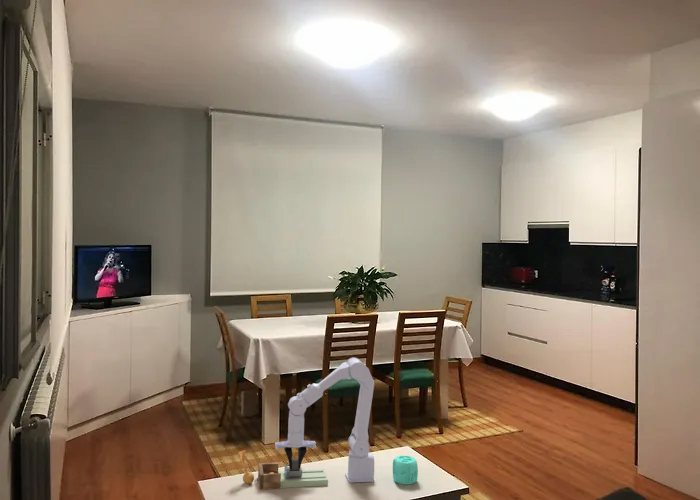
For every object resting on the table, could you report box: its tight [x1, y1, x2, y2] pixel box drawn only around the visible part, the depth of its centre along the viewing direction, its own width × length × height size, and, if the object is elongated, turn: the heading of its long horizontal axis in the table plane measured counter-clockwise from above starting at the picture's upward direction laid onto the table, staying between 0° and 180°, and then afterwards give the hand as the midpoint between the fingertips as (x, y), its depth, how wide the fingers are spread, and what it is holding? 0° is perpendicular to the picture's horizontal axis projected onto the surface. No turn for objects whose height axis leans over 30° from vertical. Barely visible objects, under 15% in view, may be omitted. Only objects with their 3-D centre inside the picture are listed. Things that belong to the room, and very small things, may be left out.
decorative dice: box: [392, 455, 419, 485], centre depth 217 cm, size 8×8×8 cm
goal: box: [257, 461, 281, 491], centre depth 211 cm, size 7×11×5 cm, turn 12°
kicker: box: [284, 457, 303, 479], centre depth 213 cm, size 6×7×6 cm
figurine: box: [237, 449, 255, 485], centre depth 209 cm, size 8×6×12 cm
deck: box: [278, 468, 329, 489], centre depth 213 cm, size 17×10×2 cm, turn 102°
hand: (294, 467), depth 213 cm, fingers closed on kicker, 2 cm apart
